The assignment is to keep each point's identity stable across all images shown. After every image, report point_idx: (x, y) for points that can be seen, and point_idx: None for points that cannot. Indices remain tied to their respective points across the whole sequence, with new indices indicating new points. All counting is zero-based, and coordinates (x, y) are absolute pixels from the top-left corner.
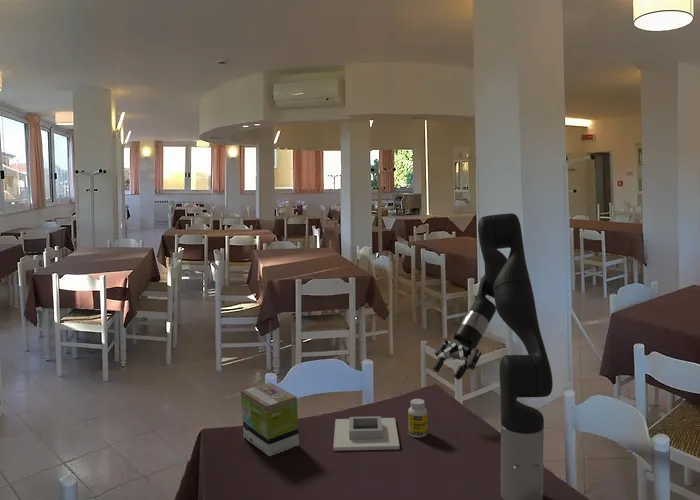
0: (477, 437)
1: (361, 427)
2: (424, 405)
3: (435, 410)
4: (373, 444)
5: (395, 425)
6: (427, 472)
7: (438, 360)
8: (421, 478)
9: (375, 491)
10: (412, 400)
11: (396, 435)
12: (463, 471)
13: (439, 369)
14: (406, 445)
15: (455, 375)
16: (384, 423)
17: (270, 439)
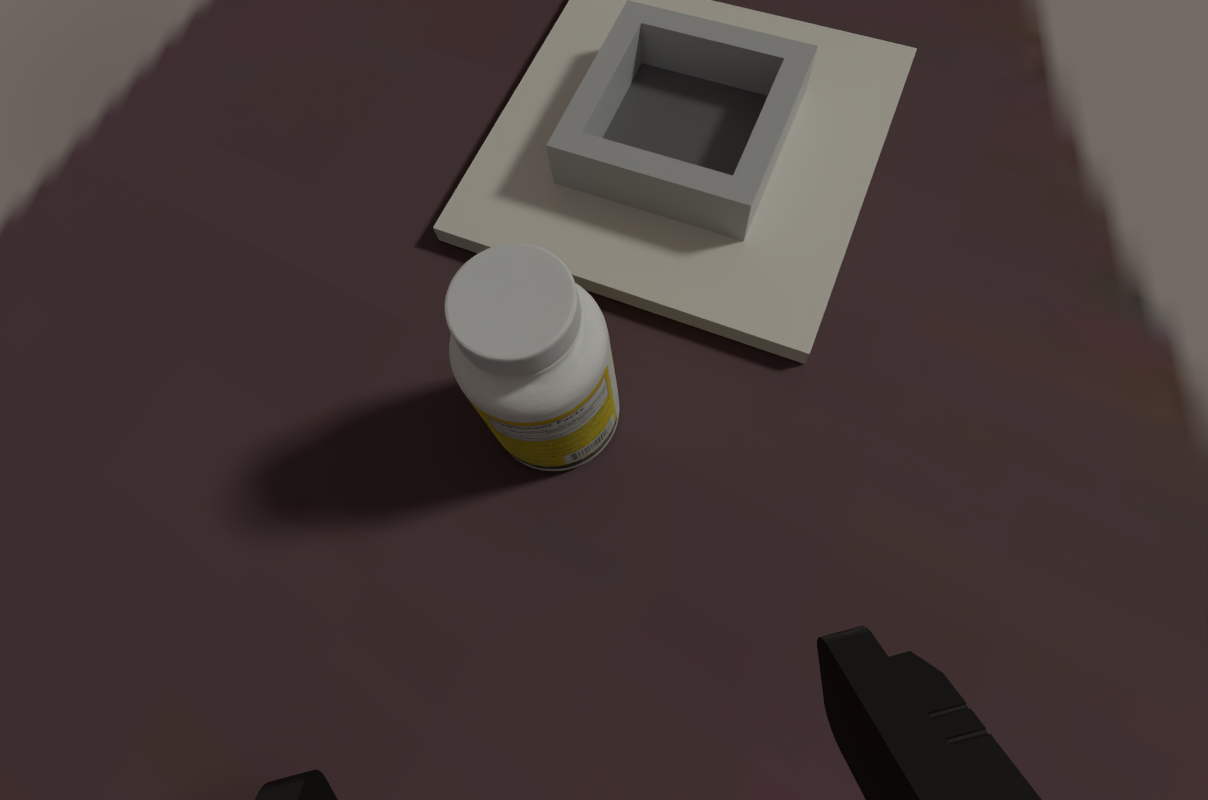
0: None
1: (739, 127)
2: (466, 357)
3: None
4: (518, 122)
5: (689, 309)
6: (164, 263)
7: (943, 796)
8: (143, 218)
9: (192, 37)
10: (551, 268)
11: None
12: (46, 424)
13: (855, 776)
14: None
15: (273, 788)
16: (745, 261)
17: None
